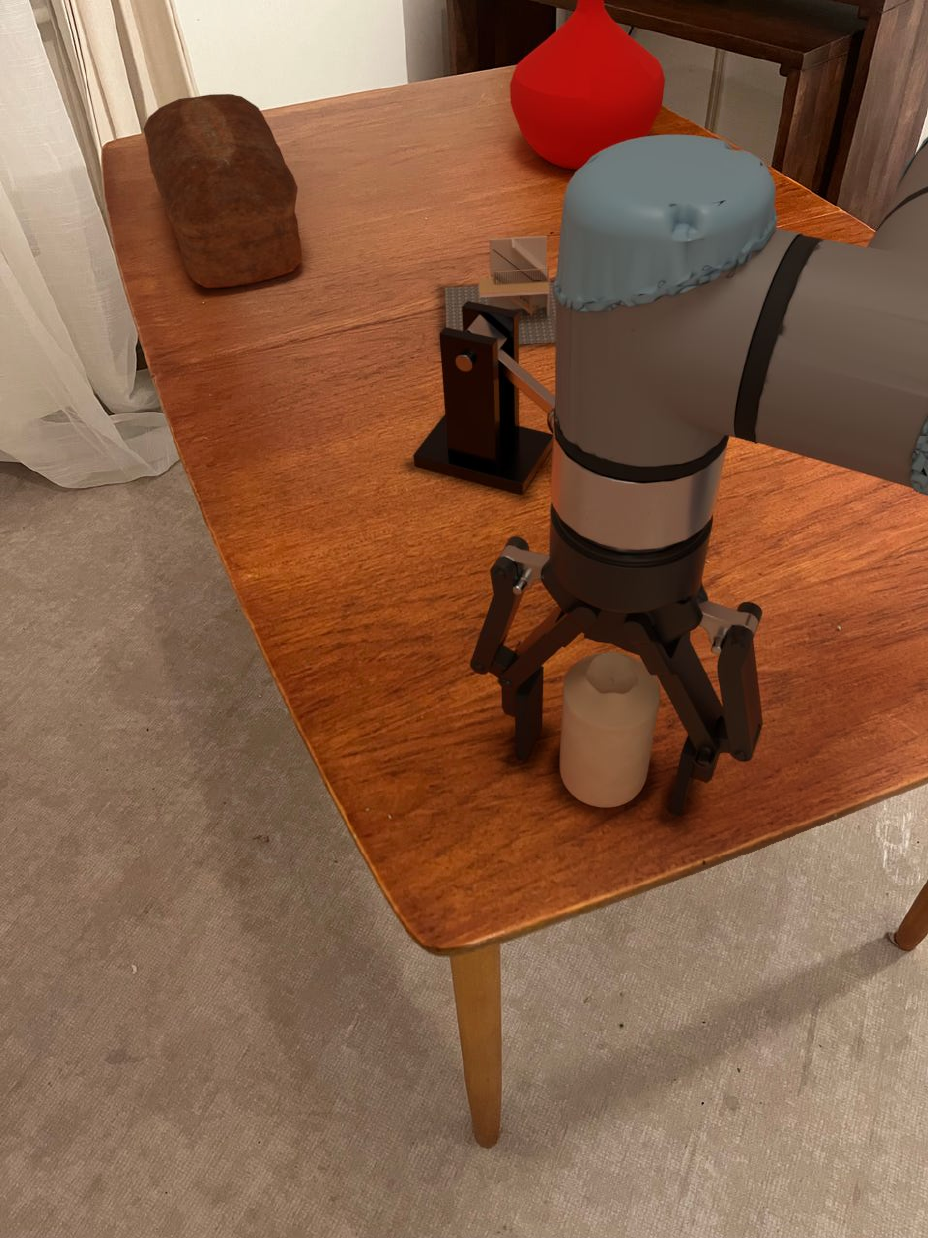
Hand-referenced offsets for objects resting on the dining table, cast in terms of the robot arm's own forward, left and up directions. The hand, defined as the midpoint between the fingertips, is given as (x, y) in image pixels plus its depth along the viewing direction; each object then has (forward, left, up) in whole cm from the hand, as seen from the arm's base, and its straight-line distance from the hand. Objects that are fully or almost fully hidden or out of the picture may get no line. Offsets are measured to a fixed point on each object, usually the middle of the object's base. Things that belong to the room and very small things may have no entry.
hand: (603, 769), depth 62 cm
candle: (0, 0, 0) cm, 0 cm away
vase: (+33, -85, 0) cm, 91 cm away
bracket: (+20, -26, 0) cm, 33 cm away
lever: (+17, -26, +7) cm, 32 cm away
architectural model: (+26, -48, 0) cm, 55 cm away
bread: (+63, -52, 0) cm, 82 cm away
